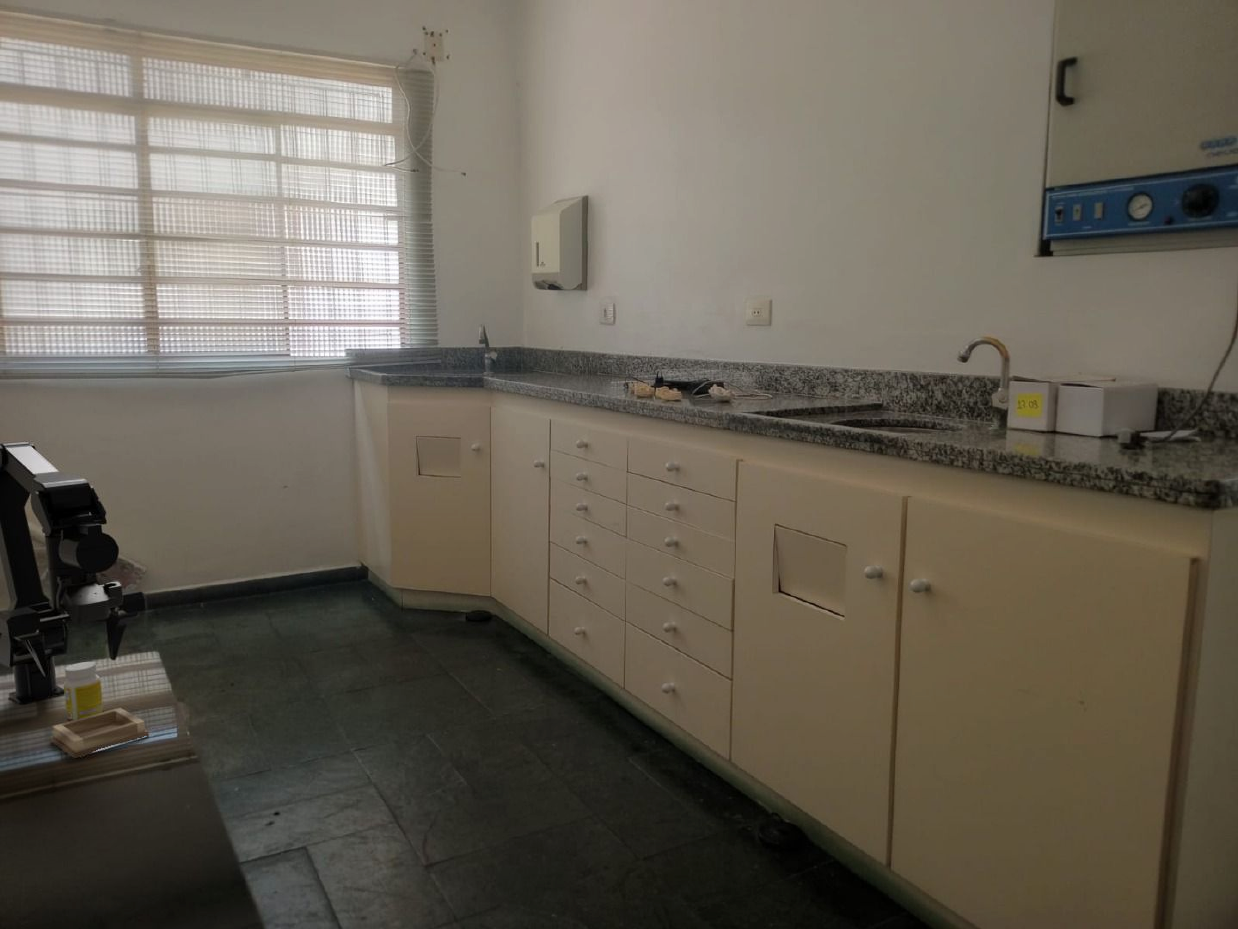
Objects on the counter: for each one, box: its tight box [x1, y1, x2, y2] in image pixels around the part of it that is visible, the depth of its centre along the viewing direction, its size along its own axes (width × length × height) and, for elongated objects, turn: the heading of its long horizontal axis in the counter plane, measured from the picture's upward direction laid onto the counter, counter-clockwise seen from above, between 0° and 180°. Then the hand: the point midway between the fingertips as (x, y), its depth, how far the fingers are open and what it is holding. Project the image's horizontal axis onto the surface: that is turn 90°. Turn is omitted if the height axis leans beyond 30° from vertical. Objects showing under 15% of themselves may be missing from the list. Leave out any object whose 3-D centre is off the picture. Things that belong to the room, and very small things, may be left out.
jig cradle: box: [50, 707, 150, 759], centre depth 135 cm, size 10×10×2 cm
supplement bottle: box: [63, 661, 105, 722], centre depth 142 cm, size 5×5×8 cm
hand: (80, 667), depth 142 cm, fingers open, 9 cm apart
